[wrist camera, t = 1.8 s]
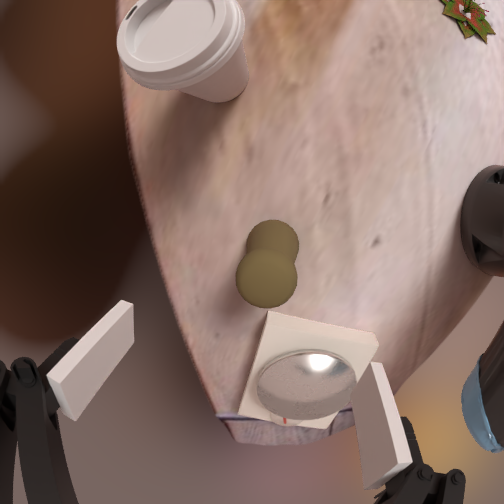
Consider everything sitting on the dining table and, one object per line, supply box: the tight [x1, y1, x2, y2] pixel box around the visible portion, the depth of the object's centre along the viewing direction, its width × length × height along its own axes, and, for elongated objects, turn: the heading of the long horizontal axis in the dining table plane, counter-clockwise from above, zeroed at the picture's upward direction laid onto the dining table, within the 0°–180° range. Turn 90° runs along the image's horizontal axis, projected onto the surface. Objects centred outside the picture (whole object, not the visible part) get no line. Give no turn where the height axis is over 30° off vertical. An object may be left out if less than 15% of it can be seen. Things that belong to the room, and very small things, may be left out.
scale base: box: [238, 310, 379, 429], centre depth 36 cm, size 15×19×4 cm
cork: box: [236, 220, 299, 308], centre depth 27 cm, size 6×6×11 cm
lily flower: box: [442, 0, 495, 44], centre depth 15 cm, size 12×12×5 cm
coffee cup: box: [117, 0, 249, 103], centre depth 19 cm, size 10×10×15 cm
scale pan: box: [257, 349, 357, 420], centre depth 32 cm, size 13×13×1 cm
